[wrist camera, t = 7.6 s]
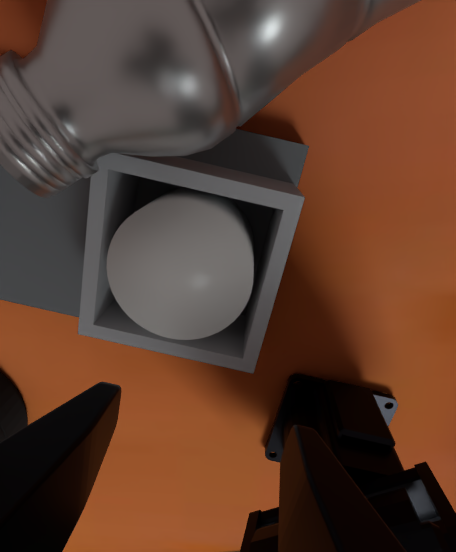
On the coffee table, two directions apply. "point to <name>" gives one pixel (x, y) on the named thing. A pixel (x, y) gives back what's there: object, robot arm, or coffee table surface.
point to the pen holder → (10, 409)
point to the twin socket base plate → (123, 203)
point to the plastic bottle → (157, 76)
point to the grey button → (183, 264)
